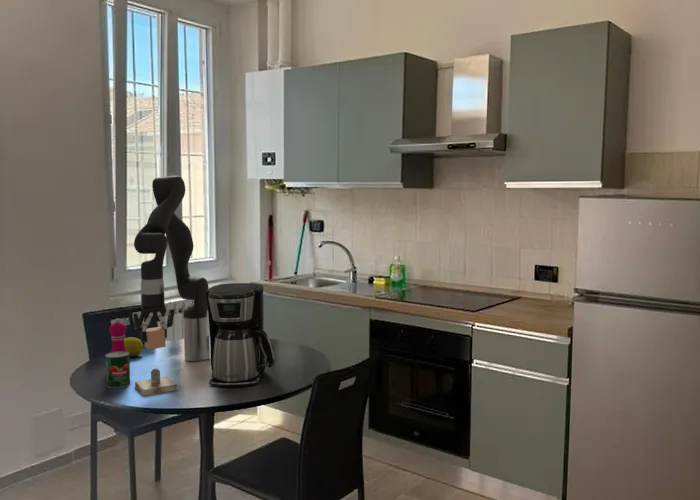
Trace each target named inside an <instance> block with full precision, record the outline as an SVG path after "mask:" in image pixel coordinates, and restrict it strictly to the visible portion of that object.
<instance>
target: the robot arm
mask: <svg viewBox="0 0 700 500" xmlns="http://www.w3.org/2000/svg"><path fill="white" fill-rule="evenodd" d="M151 188H152V193H153V197H154V200H155V202H156V205H157V206H156V207H154V209H153V210H152V211H151V213H150V214H149V216H148V219H147V222H146V224H145V225H144V226H143V227H142V228H141V229H140V230H139V231H138V233H137V234H136V235H135V238H134V239H133V240H134V241H133V247H134V250H135V251H136V253H138V254H143V255H145V254H147V255H149V254H150V255H151V254H152V255H153V254H154V258H153V259H149V260H145V261H143V262H141V264H140V275H141V276H140V278H141V279H140V281H141V282H140V297H141V298H140V299H141V300H140V301H141V307H140V311H137V312H132V313H131V317H132V321H133V325H134V329H135V331H139V332H140V340H141V342H142V343H144V344H145V342H147V336H146V329H148V326H149V325H150V323H153V322H158V323H159V324H160V327H161V328H163V329H164V330H165V339H167V338H168V329H169V328H171V327H173V325H174V324H173V323H174V317H175V310H174V308H166V304H165V282H164V260H165V254H166V252H167V248H169V251H170V255H171V258H172V263H173V264H172V265H173V267H174V273H175V281H176V286H177V292H178V294H179V296H180V298H181V299H183V300H186V301H188V300H189V301H193V305H192V306H191V307H188V308H186V309H184V310H183V314H182V315H183V343H184V346H183V347H184V361H187V362H201V361H205V360H208V359H211V355H210V334H208V307H207V299H206V291H207V290H208V289H209V282H208V280H207V279H206V278H205V277H201V276H191V275H190V272H189V261H190V260H191V256H192V255H193V254H192V253H193V250H194V246H195V245H194V241H193V236H192V232H191V230H190V228H189V227H188V225H187V224H186V223H185V222H184V221H183V220H182V219H181V218H180V217H179V216H178V215H177V214H176V213H175V212H176V211H177V209H178V207H179V205H180V204H181V203H182V201H183V200H184V197H185V195H186V183H185V181H184V179H183V178H182V176H180V175H168V176H161V177H155V178H154V179H153V180H152V187H151ZM165 314H166V315H167V319H166V321H165V319H164V316H165ZM141 316H142V318H143V320H142V323H141V325H140V318H141Z"/></svg>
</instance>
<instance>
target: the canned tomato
mask: <svg viewBox="0 0 700 500" xmlns="http://www.w3.org/2000/svg"><path fill="white" fill-rule="evenodd" d="M104 357H105V378H106V380H105V381H106V383H105V384H106V387H107V388H109V389H120V388H121V389H122V388H125V387H128V386H130V385H131V373H130V372H131V369H130V366H131V365H130V364H131V363H130V357H129V352H126V351H117V352H111V351H110V352H108V353H106V354H105V356H104Z"/></svg>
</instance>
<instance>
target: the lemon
mask: <svg viewBox="0 0 700 500" xmlns="http://www.w3.org/2000/svg"><path fill="white" fill-rule="evenodd" d="M124 345H125V348H126V350H127V352H129V358H130V357H131V358H133V357H137V356H139V355H141V353H142V352H143V349H144V348H145V345H143V341H142V340H141V338H137V337H134V336H133V337H132V336H130V337H129V336H128V337H125V339H124Z"/></svg>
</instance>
